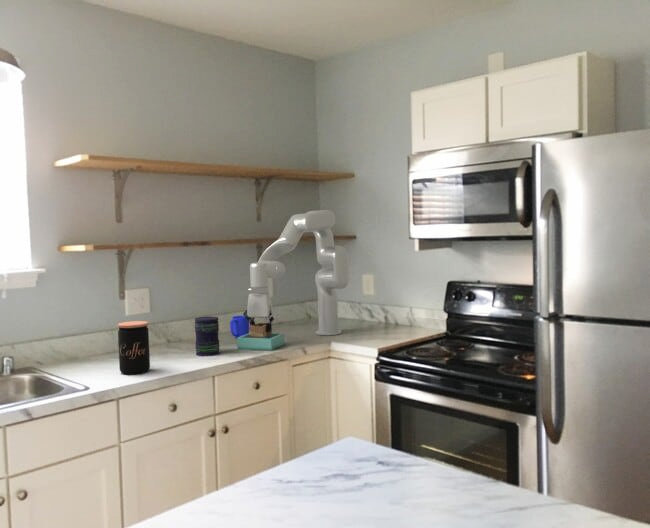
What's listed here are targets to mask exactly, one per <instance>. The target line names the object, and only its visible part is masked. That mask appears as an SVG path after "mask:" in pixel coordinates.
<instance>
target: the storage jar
mask: <svg viewBox="0 0 650 528" xmlns="http://www.w3.org/2000/svg"><path fill="white" fill-rule="evenodd" d="M219 327H220V324H219V317H217V316H202V317H201V316H199V317H195V318H194V332H195V351H196V352H195V356H197V357H211V356H212V357H213V356H217V355H220V354H221V353H220V346H221V345H220V340H219V332H220V331H219V330H220V328H219Z"/></svg>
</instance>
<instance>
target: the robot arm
mask: <svg viewBox="0 0 650 528" xmlns="http://www.w3.org/2000/svg"><path fill="white" fill-rule="evenodd" d="M335 224H336V215H335V213H334V212H332V210H330V209H329V210H328V209H325V210H323V209H322V210H311V211H307V212H305V213H297V214H296V213H295V214H293V215H292V216H291V217H290V218H289V219H288V221H287V223H286V225H285V227H284V229H283V231H281V234H280V236H279V237H278V239H277V240H276V241H273V243H271V245H270V246H268V247H267V248H266V249H265V250H264V251H263V252H262V254H261V256H260V257H259V259H258V261H257V262H251V263H250V265H249V276H250V277H249V280H250V281H249V282H250V287H248V289H247V291H248V292H250V293H249V294H248V298H247V308H246V310H245V311H244V312H242V313H243V315H242V316H245V317H246V319H247V320H248V321H249V326H252V325H254V324H256V322H255V319H256V318H264V319H265V320H266V322H265V323H266V332H271V329H272V330H273V328H271V323H273V321H275V319H276V318H277V316H278V315H279V314H278V312H276V311H275V310H274V308H273V305H272V298H271V295H270V293H269V278H270V279H279V278H281V277H282V276H284V275H285V272H286V266H285V265H284V263H282V262H281V261H279V260H277V259H279V258H280V257H281V256H284V255H285V254H288V253H290V252H292V251H293V250H295V248H296V247H297V245H298V243H299V241H300V240H301V238H302V236H303V234H304V233H313V235H314V238H315V245H316V246H315V248H316V258H317V262H318V264H319V265H321V266H324V268H321V269H318V271H317V272H316V274H315V275H314V276H315V277H314V278H315V279H314V280H315V282H314V283H315V285H316V291H317V313H318V329H317V330H316V331H315V335H317V336H335V335H337V336H338V335H341V334H342V330H341V329H339V306H338V305H339V303H338V302H339V301H338V298H339V297H338V293H337V289H339V290H341V289H345V288H346V287H348V285H349V282H350V266H349V265H350V264H349V261H350V260H349V254H348V252H347V250H346V248H345V247H344V246H341V245H335V243H334V242H335V241H334V234H333V232H332V229H331V228H333V226H334V225H335ZM325 266H330V267H332V268H330V267H329V268H327V267H326V268H325Z"/></svg>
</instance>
